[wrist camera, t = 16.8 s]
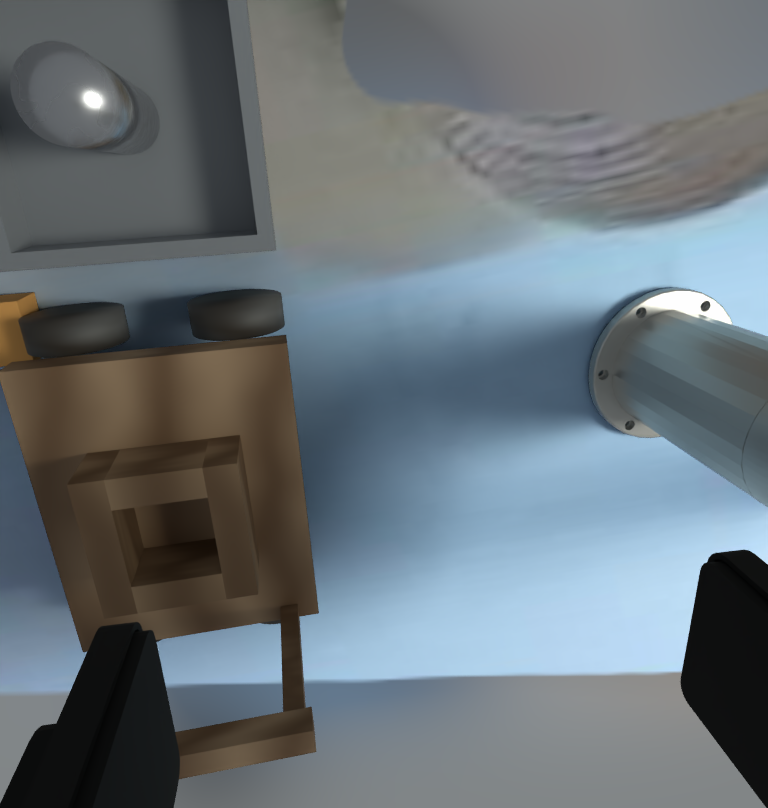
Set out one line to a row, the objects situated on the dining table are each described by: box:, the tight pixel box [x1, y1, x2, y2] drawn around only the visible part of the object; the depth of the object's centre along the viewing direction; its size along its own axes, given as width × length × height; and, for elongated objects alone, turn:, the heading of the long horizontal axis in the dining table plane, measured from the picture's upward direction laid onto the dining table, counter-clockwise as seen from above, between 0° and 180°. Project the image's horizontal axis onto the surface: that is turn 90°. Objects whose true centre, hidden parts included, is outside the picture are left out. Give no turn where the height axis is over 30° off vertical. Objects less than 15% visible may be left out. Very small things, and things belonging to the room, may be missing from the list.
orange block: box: [0, 292, 41, 367], centre depth 39 cm, size 3×4×3 cm
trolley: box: [0, 289, 319, 779], centre depth 37 cm, size 16×24×19 cm, turn 3°
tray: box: [0, 0, 276, 272], centre depth 35 cm, size 16×16×4 cm
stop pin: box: [10, 41, 160, 155], centre depth 31 cm, size 4×4×12 cm
